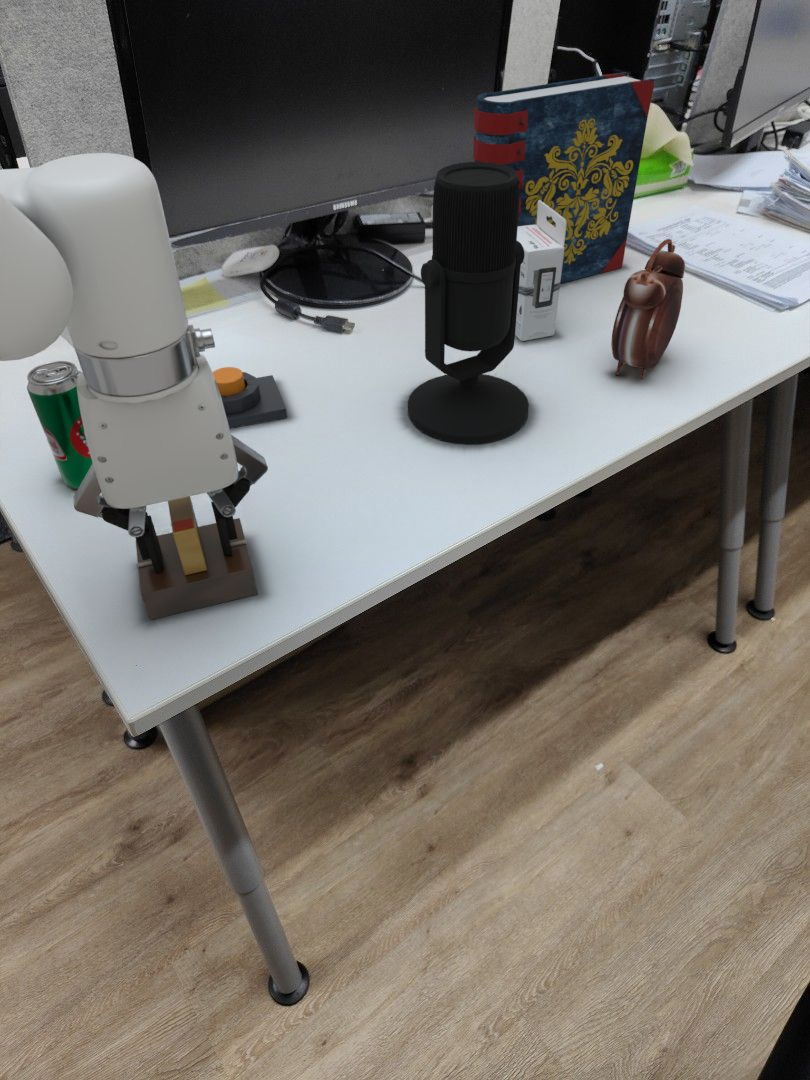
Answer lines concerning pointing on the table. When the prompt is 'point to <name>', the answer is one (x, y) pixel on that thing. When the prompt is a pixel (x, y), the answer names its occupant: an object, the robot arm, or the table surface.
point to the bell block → (254, 402)
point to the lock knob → (187, 535)
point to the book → (572, 158)
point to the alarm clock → (649, 310)
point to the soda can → (61, 417)
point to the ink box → (540, 274)
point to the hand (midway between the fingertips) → (192, 551)
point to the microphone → (471, 306)
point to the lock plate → (196, 575)
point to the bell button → (229, 380)
